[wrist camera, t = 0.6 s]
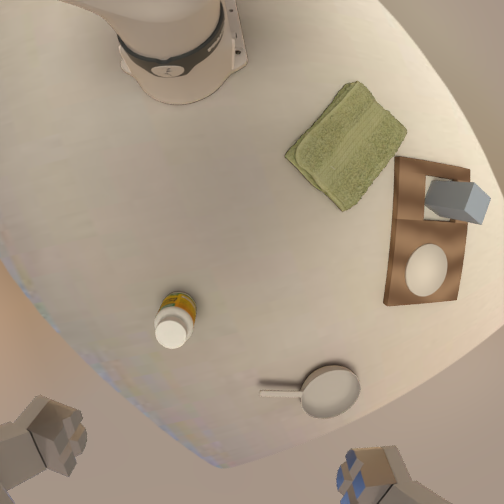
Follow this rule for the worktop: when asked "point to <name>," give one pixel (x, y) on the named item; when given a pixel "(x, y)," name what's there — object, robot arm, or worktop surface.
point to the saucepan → (324, 392)
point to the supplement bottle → (175, 320)
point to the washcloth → (348, 145)
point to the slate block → (457, 201)
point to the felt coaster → (426, 269)
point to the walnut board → (422, 231)
